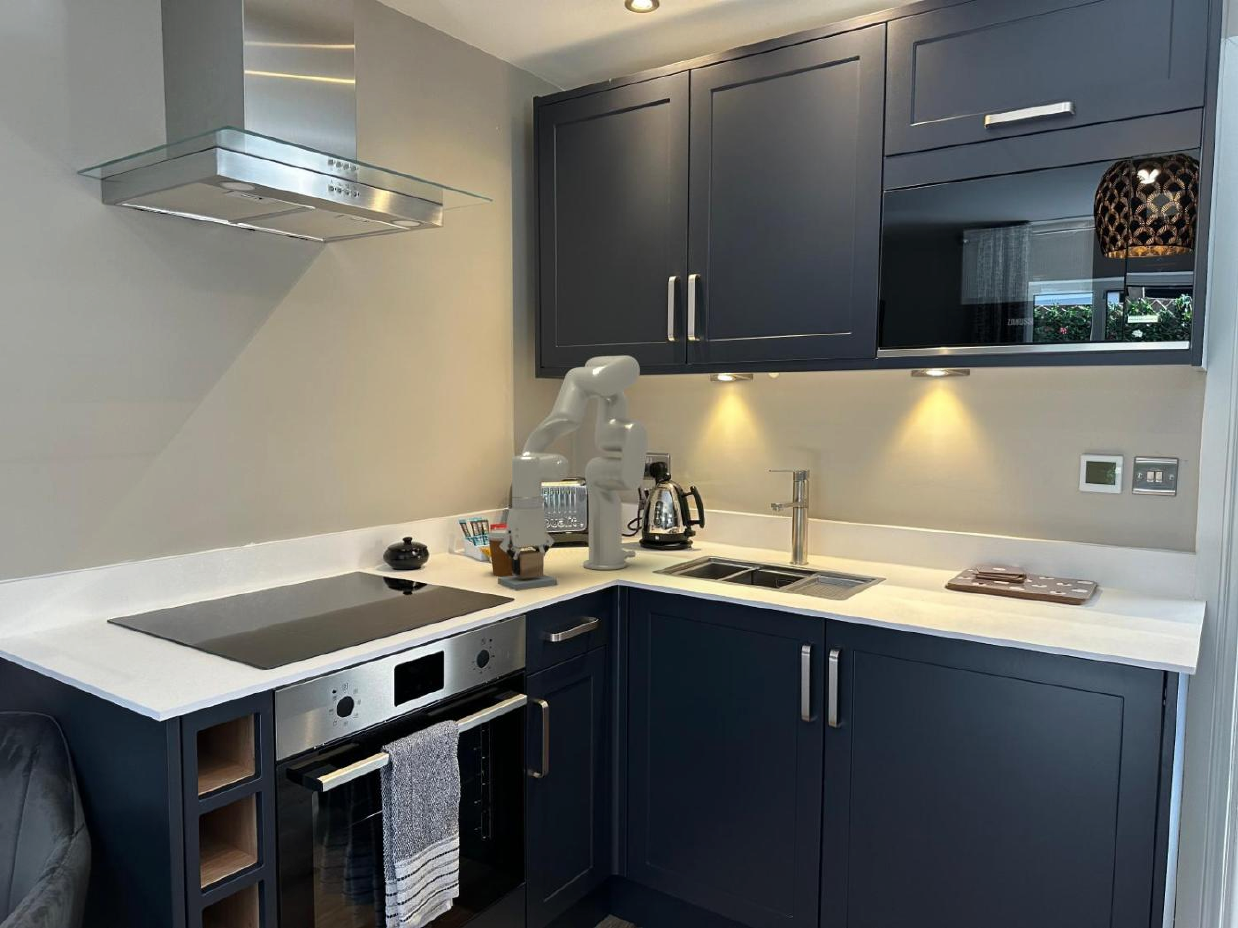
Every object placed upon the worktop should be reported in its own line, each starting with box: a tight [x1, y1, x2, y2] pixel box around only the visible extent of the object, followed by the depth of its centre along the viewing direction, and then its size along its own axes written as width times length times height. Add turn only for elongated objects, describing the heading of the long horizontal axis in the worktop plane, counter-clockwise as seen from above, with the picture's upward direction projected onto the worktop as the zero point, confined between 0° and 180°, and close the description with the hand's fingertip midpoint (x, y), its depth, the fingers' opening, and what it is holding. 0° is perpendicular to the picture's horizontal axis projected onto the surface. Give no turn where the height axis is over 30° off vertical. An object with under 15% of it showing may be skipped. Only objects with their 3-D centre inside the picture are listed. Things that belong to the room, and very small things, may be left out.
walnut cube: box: [512, 549, 544, 579], centre depth 216 cm, size 6×6×6 cm
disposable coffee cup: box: [486, 528, 513, 577], centre depth 229 cm, size 10×10×12 cm
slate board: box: [497, 573, 558, 591], centre depth 216 cm, size 12×10×2 cm
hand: (527, 571), depth 216 cm, fingers closed on walnut cube, 5 cm apart
